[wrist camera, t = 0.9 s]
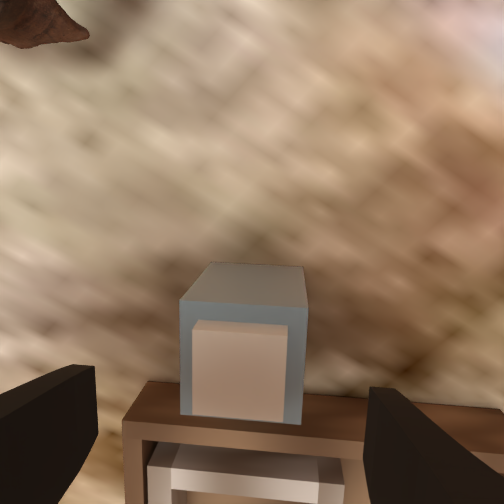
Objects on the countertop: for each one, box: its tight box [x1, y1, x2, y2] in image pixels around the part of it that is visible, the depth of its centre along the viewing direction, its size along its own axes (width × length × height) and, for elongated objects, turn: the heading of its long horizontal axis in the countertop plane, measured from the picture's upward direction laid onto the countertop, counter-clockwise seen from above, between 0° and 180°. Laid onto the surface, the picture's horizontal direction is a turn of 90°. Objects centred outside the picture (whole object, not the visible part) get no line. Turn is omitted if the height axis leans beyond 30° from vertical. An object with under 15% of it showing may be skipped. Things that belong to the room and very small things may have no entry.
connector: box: [179, 262, 309, 425], centre depth 15 cm, size 4×4×6 cm
